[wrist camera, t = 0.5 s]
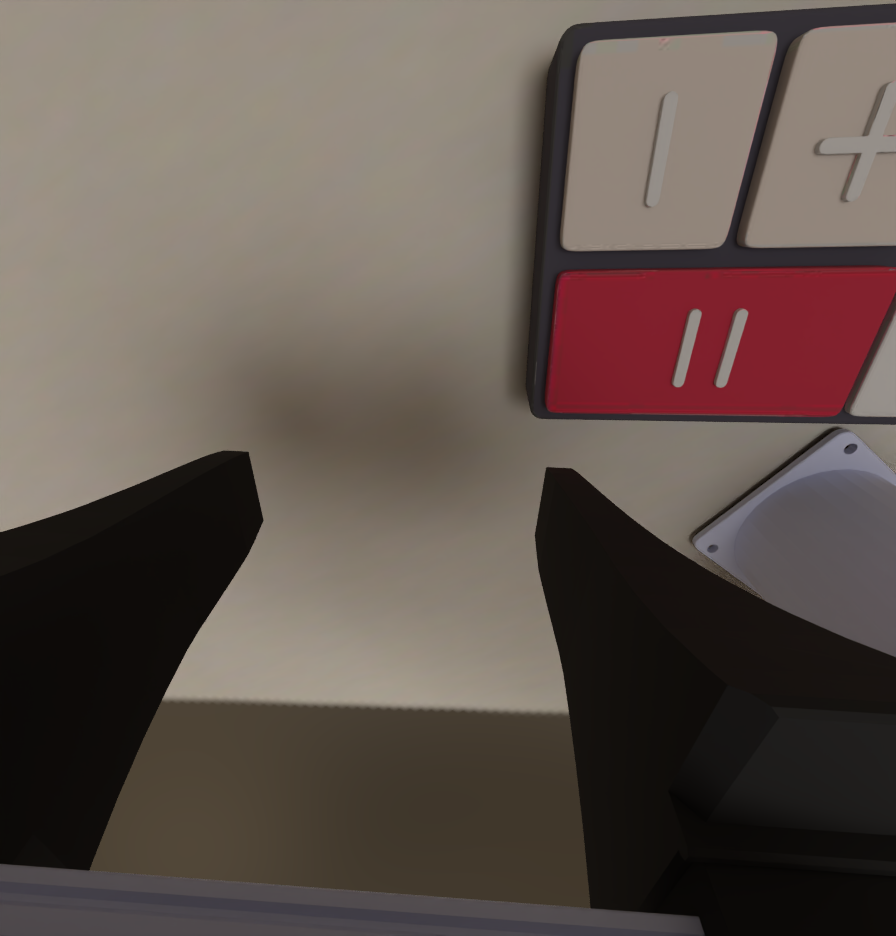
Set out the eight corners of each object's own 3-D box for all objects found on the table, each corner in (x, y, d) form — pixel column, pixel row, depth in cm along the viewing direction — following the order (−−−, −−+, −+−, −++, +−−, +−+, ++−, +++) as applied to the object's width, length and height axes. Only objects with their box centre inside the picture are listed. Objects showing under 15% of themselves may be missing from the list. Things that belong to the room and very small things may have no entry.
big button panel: (563, 9, 10) (1297, -39, 9) (545, 64, 14) (1063, 36, 13) (530, 428, 16) (985, 436, 14) (523, 388, 20) (884, 392, 18)
